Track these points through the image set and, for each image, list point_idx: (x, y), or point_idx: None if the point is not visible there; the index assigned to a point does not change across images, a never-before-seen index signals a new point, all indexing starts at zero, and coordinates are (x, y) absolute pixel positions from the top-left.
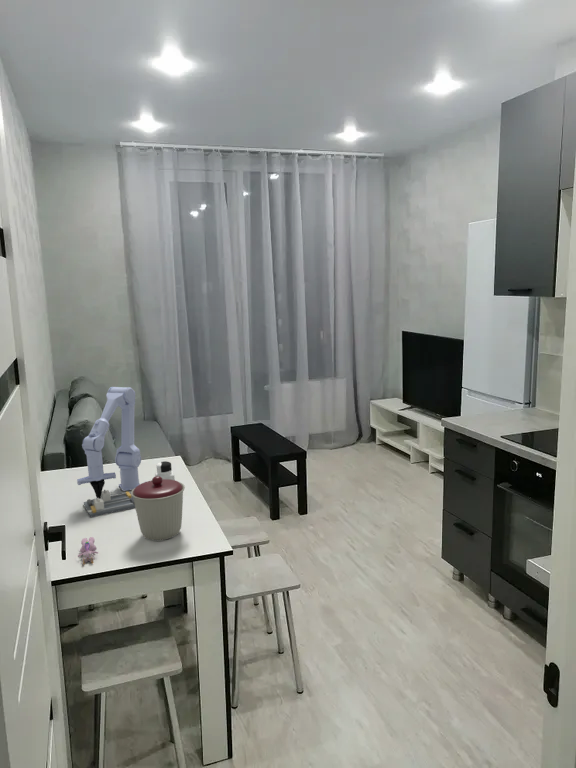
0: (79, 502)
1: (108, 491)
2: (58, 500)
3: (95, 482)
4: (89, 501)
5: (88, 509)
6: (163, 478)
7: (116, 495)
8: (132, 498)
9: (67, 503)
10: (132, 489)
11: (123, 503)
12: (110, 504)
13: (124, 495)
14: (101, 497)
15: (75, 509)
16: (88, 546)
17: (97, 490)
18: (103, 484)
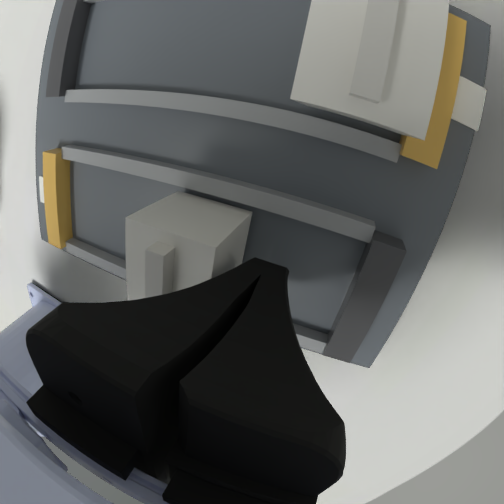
0: (356, 401)
1: (131, 278)
2: (394, 468)
3: (199, 476)
4: (364, 310)
5: (455, 161)
6: None
7: (116, 262)
8: (53, 74)
9: (404, 428)
10: (57, 300)
11: (124, 54)
12: (217, 97)
13: (80, 229)
14: None
15: (460, 320)
16: None
17: (250, 322)
18: (78, 310)
